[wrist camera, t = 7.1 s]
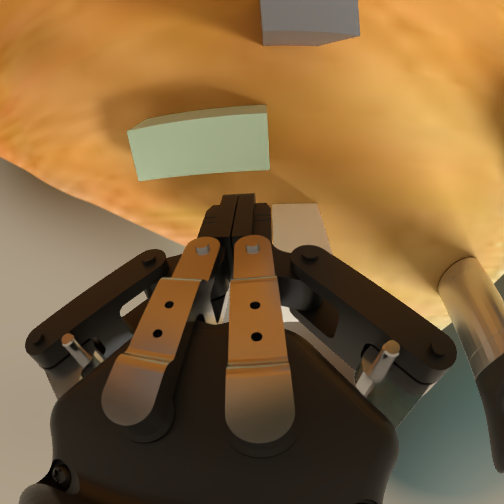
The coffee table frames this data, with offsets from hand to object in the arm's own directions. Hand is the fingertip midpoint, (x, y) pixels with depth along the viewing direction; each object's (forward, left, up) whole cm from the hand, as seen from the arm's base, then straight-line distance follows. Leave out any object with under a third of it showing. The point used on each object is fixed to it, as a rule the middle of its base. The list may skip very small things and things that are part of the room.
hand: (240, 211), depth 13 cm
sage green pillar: (-1, -1, -13) cm, 13 cm away
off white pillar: (-11, +3, -15) cm, 19 cm away
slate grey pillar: (+7, -10, -15) cm, 19 cm away
